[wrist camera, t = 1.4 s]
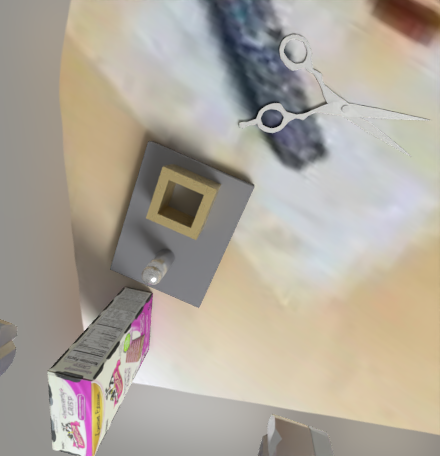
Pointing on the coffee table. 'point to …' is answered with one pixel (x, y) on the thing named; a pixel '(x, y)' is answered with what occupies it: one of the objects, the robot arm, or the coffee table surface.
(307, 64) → the scissors
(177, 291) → the slate mat
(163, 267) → the steel post
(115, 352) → the candy bar box
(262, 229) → the coffee table surface
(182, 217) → the brass collar
